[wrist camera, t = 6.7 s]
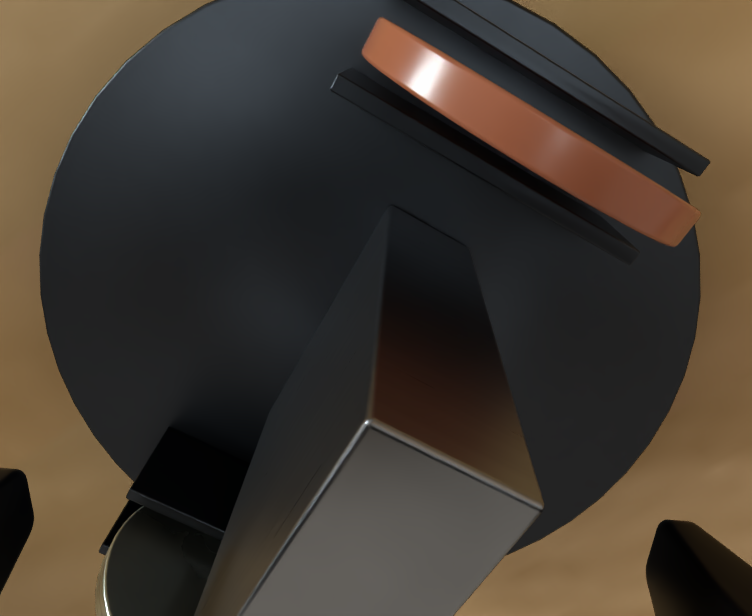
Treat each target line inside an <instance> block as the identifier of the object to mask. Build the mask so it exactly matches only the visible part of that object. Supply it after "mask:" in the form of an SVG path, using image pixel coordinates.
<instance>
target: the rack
mask: <svg viewBox="0 0 752 616" xmlns="http://www.w3.org/2000/svg"><path fill="white" fill-rule="evenodd" d="M709 164H710V161H709V160H708V159H707V158H705V157H703V156H702V155H700V154H699V153H697V152H695V151H694V150H692V149H691V148H689V147H688V146H686V145H684V144H683V143H681V142H680V141H678V140H677V139H675V138H673V137H672V136H670V135H669V134H667V133H665V132H664V131H662V130H661V129H659V128H658V127H656V125H655V124H654V123H653V121H652V120H651V118H650V117H649V116H648V114H647V113H646V111H645V110H644V109H643V107H642V106H641V104H640V103H639V102H638V100H637V99H636V97H635V96H634V95H633V93H632V92H631V91H630V89H629V88H628V87H627V86H626V85H625V84H624V83H623V82H622V81H621V80H620V79H619V78H618V77H617V76H616V75H615V74H614V73H613V72H612V71H611V70H610V69H609V68H608V67H607V66H606V65H605V64H604V63H603V62H602V61H601V60H600V58H599V57H598V56H597V55H596V54H594V53H593V52H592V51H590V50H589V49H588V48H586V47H585V46H584V45H583V44H581V43H580V42H579V41H577V40H576V39H575V38H573V37H572V36H571V35H569V34H568V33H567V32H565V31H564V30H563V29H561V28H560V27H559V26H557V25H556V24H555V23H553V22H551V21H549V20H547V19H546V18H544V17H542V16H540V15H538V14H536V13H534V12H533V11H531V10H529V9H527V8H525V7H523V6H522V5H520V4H518V3H516V2H514V1H512V0H214V1H212V2H209V3H207V4H205V5H203V6H201V7H200V8H198V9H196V10H195V11H193V12H192V13H190V14H188V15H187V16H185V17H183V18H182V19H180V20H178V21H177V22H175V23H174V24H172V25H170V26H169V27H167V28H165V29H164V30H162V31H161V32H160V33H159V34H157V35H156V36H155V37H154V38H153V39H152V40H150V41H149V42H148V43H147V44H146V45H144V46H143V47H142V48H141V49H140V50H139V51H137V52H136V53H135V54H134V55H133V56H131V57H130V58H129V59H128V60H127V61H126V62H125V63H124V64H123V65H122V66H121V67H120V69H119V70H118V71H117V72H116V73H115V74H114V76H113V77H112V78H111V79H110V80H109V81H108V82H107V84H106V85H105V86H104V87H103V88H102V89H101V90H100V92H99V93H98V94H97V95H96V96H95V98H94V100H93V101H92V103H91V104H90V106H89V108H88V109H87V111H86V112H85V114H84V115H83V117H82V119H81V120H80V122H79V123H78V125H77V127H76V128H75V130H74V131H73V133H72V135H71V137H70V140H69V142H68V144H67V147H66V149H65V151H64V153H63V156H62V158H61V160H60V163H59V165H58V167H57V170H56V172H55V175H54V179H53V182H52V186H51V190H50V194H49V197H48V201H47V205H46V209H45V213H44V219H43V228H42V237H41V245H40V254H39V258H40V290H41V300H42V306H43V311H44V317H45V323H46V329H47V334H48V337H49V340H50V344H51V347H52V350H53V353H54V356H55V360H56V363H57V366H58V369H59V372H60V374H61V376H62V378H63V380H64V382H65V385H66V387H67V389H68V391H69V393H70V396H71V398H72V400H73V402H74V404H75V406H76V407H77V409H78V411H79V412H80V414H81V416H82V417H83V419H84V420H85V422H86V424H87V425H88V427H89V428H90V430H91V432H92V433H93V435H94V436H95V438H96V439H97V440H98V441H99V443H100V444H101V445H102V446H103V448H104V449H105V450H106V451H107V453H108V454H109V455H110V457H111V458H112V459H113V460H114V462H115V463H116V464H117V465H118V466H119V467H120V468H121V469H122V470H123V471H124V472H125V473H126V474H127V475H128V476H129V477H130V478H131V479H132V480H133V481H134V483H133V485H132V486H131V488H130V489H129V491H128V493H127V495H126V498H127V499H129V501H128V502H127V504H126V506H125V507H124V509H123V511H122V512H121V514H120V515H119V517H118V519H117V520H116V522H115V524H114V525H113V527H112V529H111V530H110V532H109V534H108V535H107V537H106V539H105V540H104V542H103V544H102V546H101V548H100V550H99V553H101V554H104V555H105V557H104V559H103V561H102V564H101V567H100V570H99V574H98V577H97V583H96V590H95V611H96V616H454V614H455V613H456V612H457V611H458V610H459V609H460V607H461V606H462V605H463V604H464V603H465V602H466V600H467V599H468V598H469V597H470V596H471V595H472V593H473V592H474V591H475V590H476V589H477V588H478V586H479V585H480V584H481V583H482V582H483V581H484V579H485V578H486V577H487V576H488V575H489V574H490V573H491V571H492V570H493V569H494V568H495V567H496V566H497V564H498V563H499V562H500V561H501V560H502V559H503V557H504V556H505V555H508V554H510V553H513V552H515V551H517V550H519V549H521V548H523V547H525V546H528V545H530V544H532V543H534V542H536V541H538V540H541V539H542V538H544V537H545V536H547V535H549V534H550V533H552V532H554V531H555V530H557V529H559V528H560V527H562V526H564V525H565V524H567V523H569V522H570V521H572V520H573V519H574V518H576V517H577V516H578V515H580V514H581V513H582V512H583V511H585V510H586V509H587V508H589V507H590V506H591V505H592V504H594V503H595V502H596V501H598V500H599V499H600V498H601V497H602V496H603V495H604V494H605V493H606V492H607V491H608V490H609V489H610V488H611V487H612V486H613V485H614V484H615V483H617V482H618V481H619V480H620V479H621V478H622V477H623V476H624V475H625V474H626V473H627V471H628V470H629V469H630V468H631V466H632V465H633V464H634V463H635V461H636V460H637V459H638V458H639V456H640V455H641V454H642V453H643V451H644V450H645V449H646V447H647V446H648V445H649V444H650V442H651V440H652V439H653V437H654V435H655V434H656V432H657V431H658V429H659V427H660V426H661V424H662V422H663V421H664V419H665V417H666V416H667V414H668V412H669V410H670V408H671V406H672V404H673V401H674V399H675V397H676V394H677V392H678V390H679V387H680V385H681V383H682V381H683V378H684V376H685V372H686V369H687V365H688V362H689V358H690V355H691V351H692V347H693V344H694V340H695V335H696V328H697V320H698V312H699V304H700V253H699V247H698V241H697V236H696V230H695V223H696V222H697V220H698V219H699V218H700V216H701V212H700V211H699V210H698V209H697V208H695V207H694V206H692V205H691V204H690V203H689V200H688V197H687V194H686V191H685V188H684V185H683V182H682V178H681V175H680V172H679V169H678V167H679V168H681V169H683V170H685V171H687V172H689V173H691V174H694V175H696V176H700V175H701V174H702V173H703V171H704V170H705V169H706V167H707V166H708V165H709Z"/></svg>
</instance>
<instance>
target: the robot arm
mask: <svg viewBox="0 0 752 616" xmlns="http://www.w3.org/2000/svg"><path fill="white" fill-rule="evenodd" d="M33 522H34V513H33V508H32V503H31V498H30V493H29V487H28V482H27V478H26V475H25V474H24V473H23V472H22V471H21V470H18V469H7V468H0V594H1V592H2V590H3V588H4V586H5V584H6V582H7V580H8V578H9V576H10V574H11V572H12V570H13V568H14V566H15V563H16V561H17V559H18V557H19V555H20V553H21V551H22V549H23V547H24V545H25V543H26V541H27V539H28V537H29V535H30V533H31V530H32V527H33ZM646 579H647V584H648V588H649V592H650V596H651V600H652V604H653V608H654V612H655V616H752V567H751V566H750V565H749V564H747V563H746V562H745V561H743V560H742V559H741V558H740V557H738V556H737V555H736V554H734V553H733V552H732V551H730V550H729V549H728V548H726V547H725V546H724V545H723V544H721V543H720V542H719V541H717V540H716V539H715V538H713V537H712V536H711V535H709V534H708V533H707V532H706V531H704V530H703V529H702V528H700V527H699V526H698V525H696V524H695V523H693V522H689V521H679V520H664V521H662V522H660V524H659V525H658V527H657V530H656V534H655V537H654V540H653V544H652V547H651V550H650V554H649V557H648V560H647V564H646Z"/></svg>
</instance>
